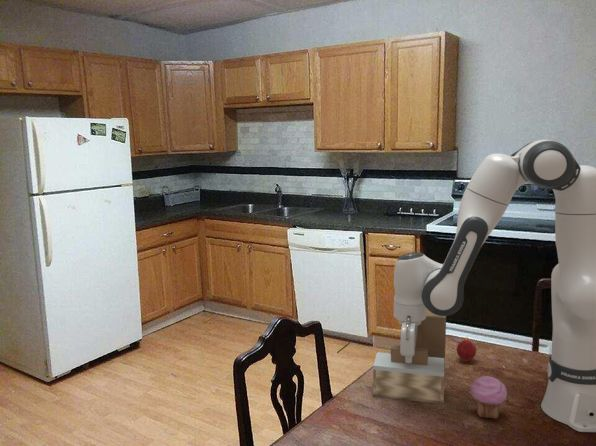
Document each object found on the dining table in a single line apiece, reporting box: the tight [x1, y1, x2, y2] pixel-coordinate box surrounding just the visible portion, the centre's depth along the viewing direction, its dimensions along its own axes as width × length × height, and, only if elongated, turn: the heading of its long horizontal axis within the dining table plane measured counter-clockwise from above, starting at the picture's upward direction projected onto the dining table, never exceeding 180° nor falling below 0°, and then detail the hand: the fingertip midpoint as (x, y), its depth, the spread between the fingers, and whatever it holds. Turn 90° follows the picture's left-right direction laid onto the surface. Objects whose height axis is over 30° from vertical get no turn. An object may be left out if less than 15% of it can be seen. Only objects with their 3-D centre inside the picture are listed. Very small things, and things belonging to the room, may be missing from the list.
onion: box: [456, 336, 477, 362], centre depth 162 cm, size 6×6×8 cm
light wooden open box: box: [372, 369, 445, 405], centre depth 143 cm, size 19×9×8 cm, turn 74°
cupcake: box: [469, 375, 508, 420], centre depth 131 cm, size 9×9×10 cm
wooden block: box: [415, 308, 447, 379], centre depth 155 cm, size 10×10×20 cm
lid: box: [372, 344, 444, 377], centre depth 142 cm, size 19×9×6 cm, turn 74°
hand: (409, 357), depth 142 cm, fingers open, 4 cm apart
